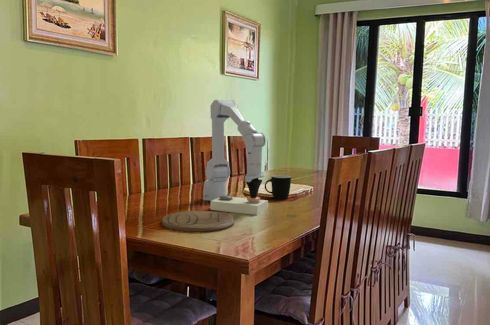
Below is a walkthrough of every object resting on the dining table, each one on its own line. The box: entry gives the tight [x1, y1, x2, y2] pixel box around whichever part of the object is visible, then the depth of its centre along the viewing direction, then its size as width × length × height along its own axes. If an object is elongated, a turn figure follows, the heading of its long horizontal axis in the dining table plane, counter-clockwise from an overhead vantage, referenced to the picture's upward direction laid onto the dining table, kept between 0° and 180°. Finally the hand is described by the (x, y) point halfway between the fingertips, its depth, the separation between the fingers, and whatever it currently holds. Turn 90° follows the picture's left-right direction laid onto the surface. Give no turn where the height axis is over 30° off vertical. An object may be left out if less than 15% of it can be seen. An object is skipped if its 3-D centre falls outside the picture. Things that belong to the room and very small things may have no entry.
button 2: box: [246, 196, 261, 204], centre depth 176 cm, size 5×5×4 cm
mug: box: [264, 174, 292, 200], centre depth 204 cm, size 12×9×10 cm
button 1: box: [220, 194, 233, 201], centre depth 180 cm, size 5×5×4 cm
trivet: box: [161, 210, 235, 234], centre depth 155 cm, size 25×25×2 cm
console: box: [210, 196, 269, 216], centre depth 178 cm, size 20×12×4 cm, turn 68°
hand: (253, 197), depth 175 cm, fingers closed, pressing on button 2
